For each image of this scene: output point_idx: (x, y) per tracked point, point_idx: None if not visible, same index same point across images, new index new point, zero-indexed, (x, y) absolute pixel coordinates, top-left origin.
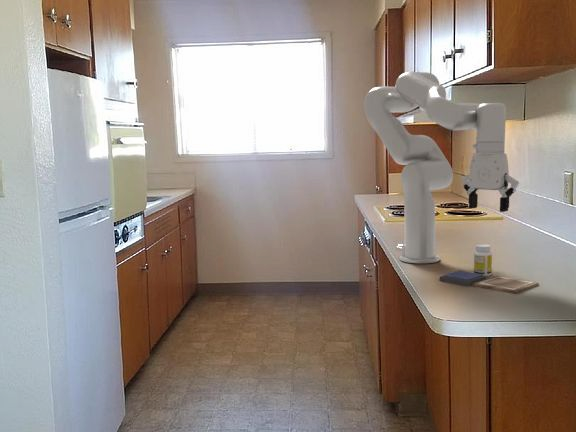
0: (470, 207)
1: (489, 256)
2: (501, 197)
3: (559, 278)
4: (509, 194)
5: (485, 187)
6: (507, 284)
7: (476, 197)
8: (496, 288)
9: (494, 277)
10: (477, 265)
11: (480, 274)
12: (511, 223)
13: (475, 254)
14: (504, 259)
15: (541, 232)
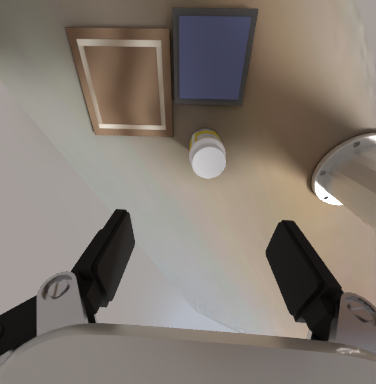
0: (286, 221)
1: (189, 151)
2: (82, 269)
3: (109, 190)
4: (30, 301)
5: (185, 357)
6: (116, 79)
7: (287, 293)
8: (111, 28)
9: (167, 119)
10: (209, 132)
11: (184, 95)
12: None
13: (217, 140)
14: (222, 240)
15: None
